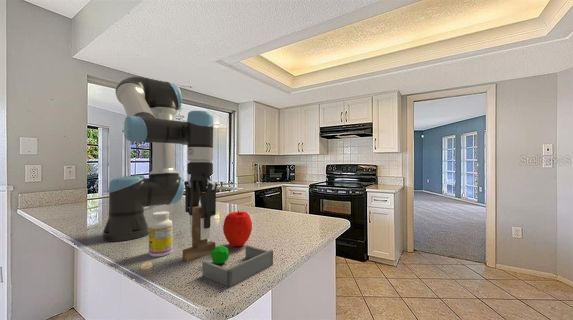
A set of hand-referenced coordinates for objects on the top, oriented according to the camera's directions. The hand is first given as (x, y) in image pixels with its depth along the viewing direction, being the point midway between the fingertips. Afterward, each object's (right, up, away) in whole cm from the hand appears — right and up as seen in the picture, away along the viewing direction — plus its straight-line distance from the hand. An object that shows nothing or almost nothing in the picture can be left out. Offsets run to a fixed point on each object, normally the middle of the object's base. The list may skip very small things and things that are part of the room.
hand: (199, 237), depth 77 cm
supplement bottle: (-13, -6, +2) cm, 14 cm away
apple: (+10, -6, +9) cm, 15 cm away
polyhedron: (+8, -6, -6) cm, 11 cm away
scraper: (0, -6, 0) cm, 6 cm away
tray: (+14, -6, -10) cm, 18 cm away
